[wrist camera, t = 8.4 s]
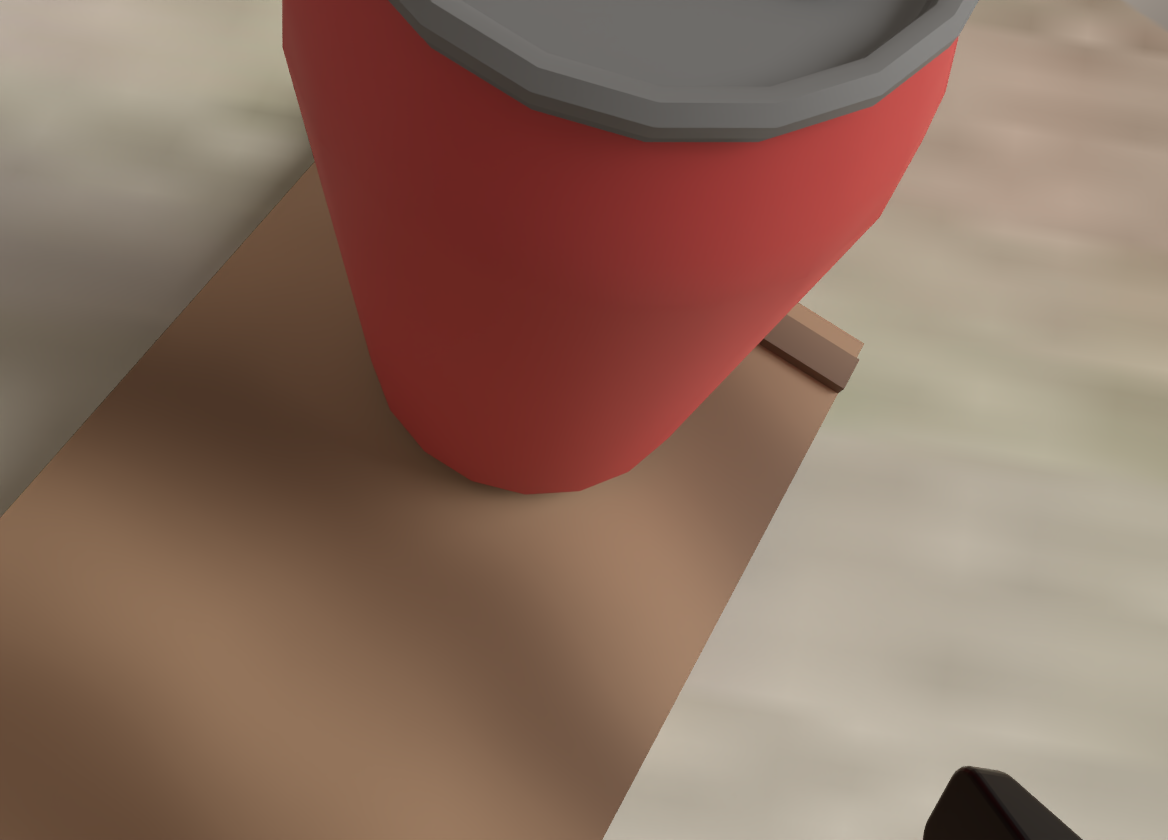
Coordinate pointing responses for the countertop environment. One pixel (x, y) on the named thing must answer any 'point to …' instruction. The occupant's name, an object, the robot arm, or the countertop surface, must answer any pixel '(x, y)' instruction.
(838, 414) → the countertop surface
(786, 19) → the beer can
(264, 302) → the walnut board
